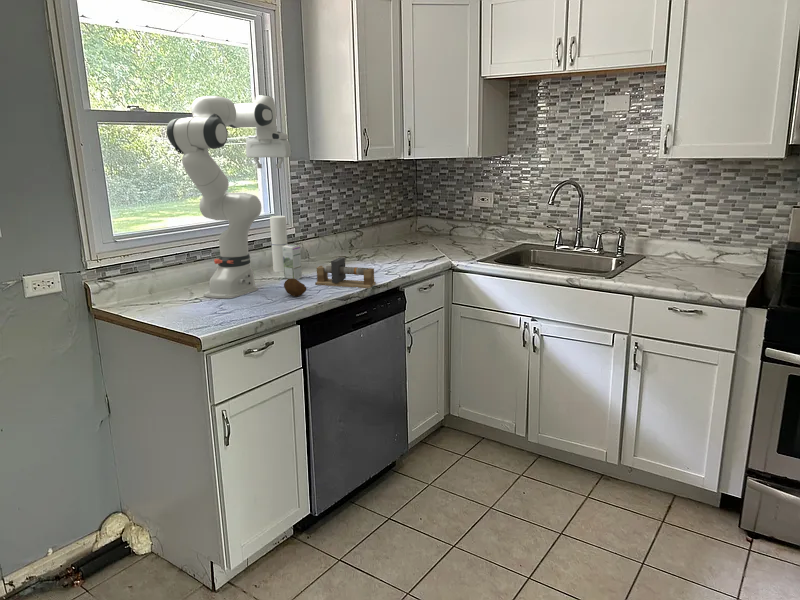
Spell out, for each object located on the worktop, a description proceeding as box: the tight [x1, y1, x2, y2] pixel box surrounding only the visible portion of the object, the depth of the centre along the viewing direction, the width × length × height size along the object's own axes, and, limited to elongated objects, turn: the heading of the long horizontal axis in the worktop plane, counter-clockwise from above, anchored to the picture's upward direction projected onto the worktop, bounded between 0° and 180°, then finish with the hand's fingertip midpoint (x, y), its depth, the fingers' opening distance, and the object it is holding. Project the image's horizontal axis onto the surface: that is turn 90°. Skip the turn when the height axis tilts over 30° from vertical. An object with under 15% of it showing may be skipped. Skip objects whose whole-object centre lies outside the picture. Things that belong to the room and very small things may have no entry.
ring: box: [330, 256, 347, 283], centre depth 253 cm, size 9×2×9 cm, turn 162°
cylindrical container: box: [269, 215, 288, 273], centre depth 279 cm, size 7×7×25 cm
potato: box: [283, 278, 307, 298], centre depth 236 cm, size 7×12×7 cm, turn 53°
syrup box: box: [282, 244, 303, 280], centre depth 265 cm, size 6×6×14 cm
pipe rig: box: [315, 265, 377, 289], centre depth 253 cm, size 8×24×8 cm, turn 72°
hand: (269, 168), depth 264 cm, fingers open, 8 cm apart
